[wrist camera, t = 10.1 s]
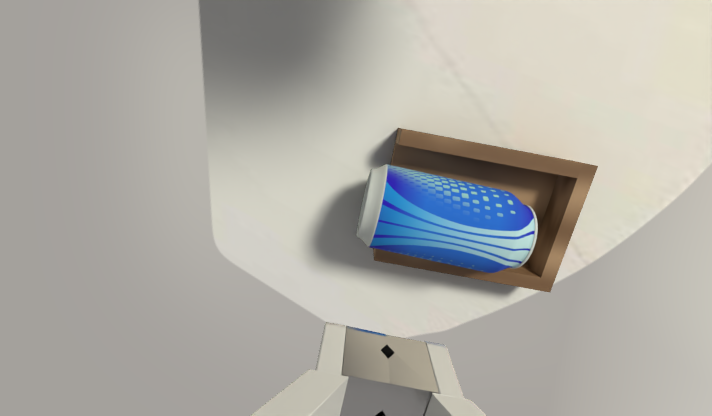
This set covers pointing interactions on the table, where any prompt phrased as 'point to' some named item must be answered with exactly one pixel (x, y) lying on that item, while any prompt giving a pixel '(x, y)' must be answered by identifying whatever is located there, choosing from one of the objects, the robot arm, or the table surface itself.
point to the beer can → (445, 220)
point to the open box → (510, 173)
